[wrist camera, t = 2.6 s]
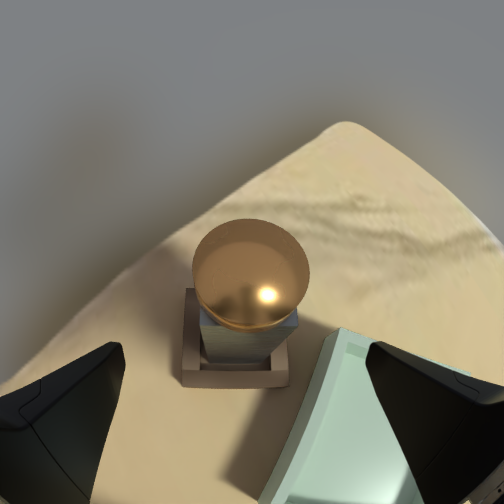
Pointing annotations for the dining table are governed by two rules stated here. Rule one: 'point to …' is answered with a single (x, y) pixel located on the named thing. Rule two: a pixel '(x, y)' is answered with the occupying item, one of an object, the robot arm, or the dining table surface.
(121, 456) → the dining table surface
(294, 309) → the pin
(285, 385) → the pin socket
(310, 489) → the tray
